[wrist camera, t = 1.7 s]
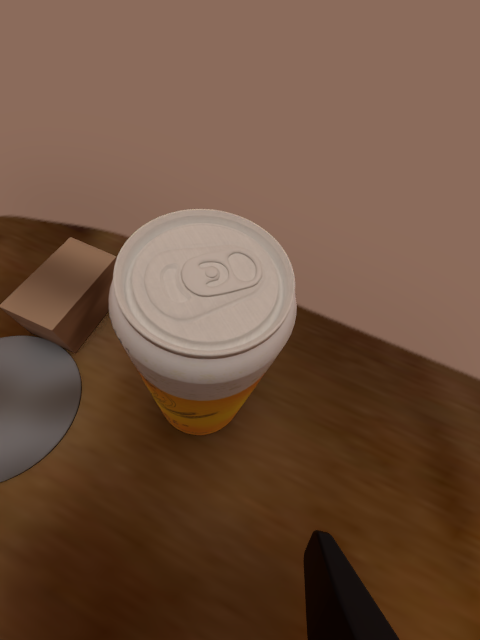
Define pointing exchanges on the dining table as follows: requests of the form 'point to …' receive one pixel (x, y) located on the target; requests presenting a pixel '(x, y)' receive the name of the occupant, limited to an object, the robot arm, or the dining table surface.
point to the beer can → (202, 312)
